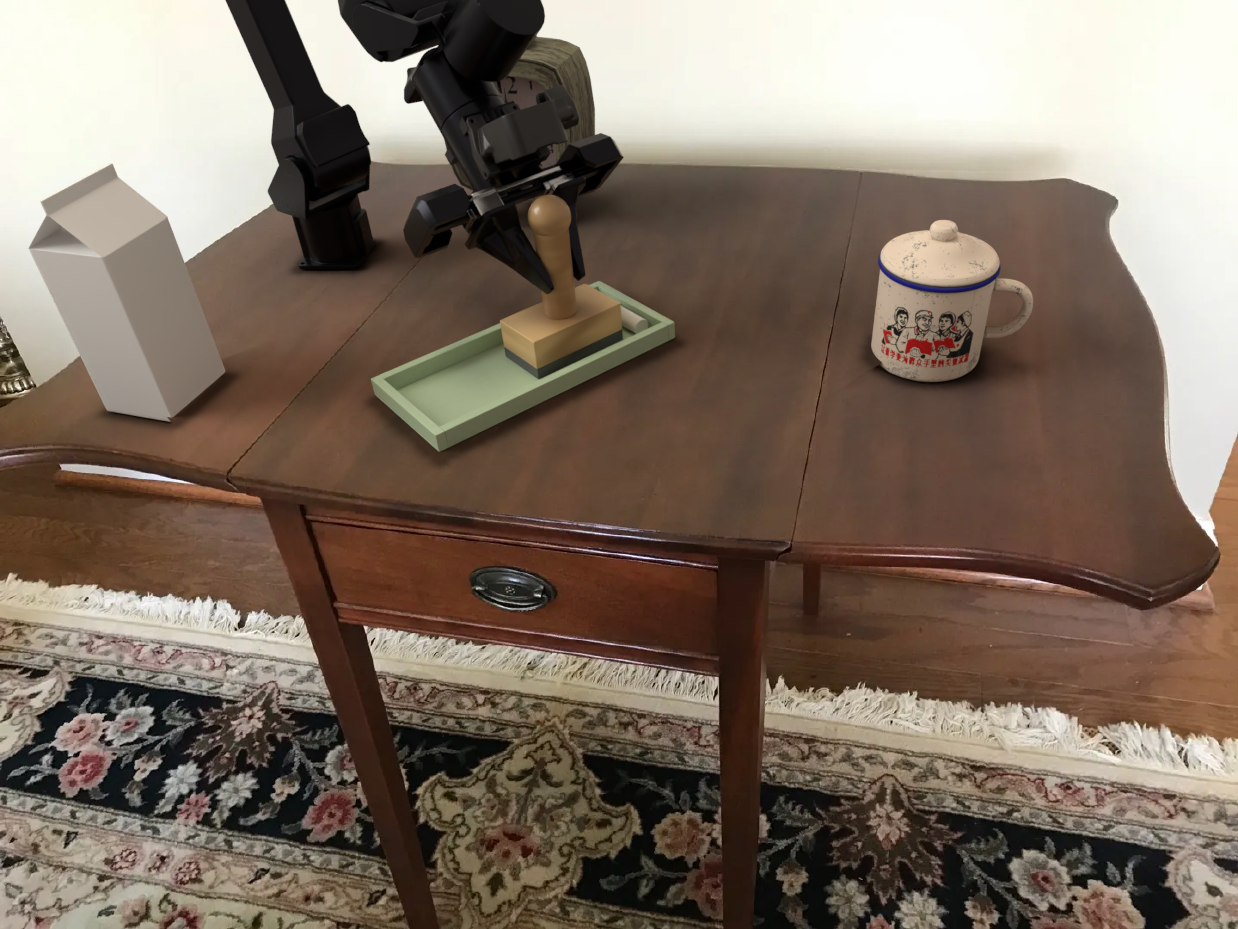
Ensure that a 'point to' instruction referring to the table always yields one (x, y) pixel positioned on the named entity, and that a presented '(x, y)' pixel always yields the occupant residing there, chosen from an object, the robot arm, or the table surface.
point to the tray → (497, 378)
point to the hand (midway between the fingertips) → (566, 285)
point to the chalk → (633, 321)
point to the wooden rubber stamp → (559, 303)
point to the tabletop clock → (544, 70)
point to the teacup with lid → (938, 303)
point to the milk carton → (125, 296)
